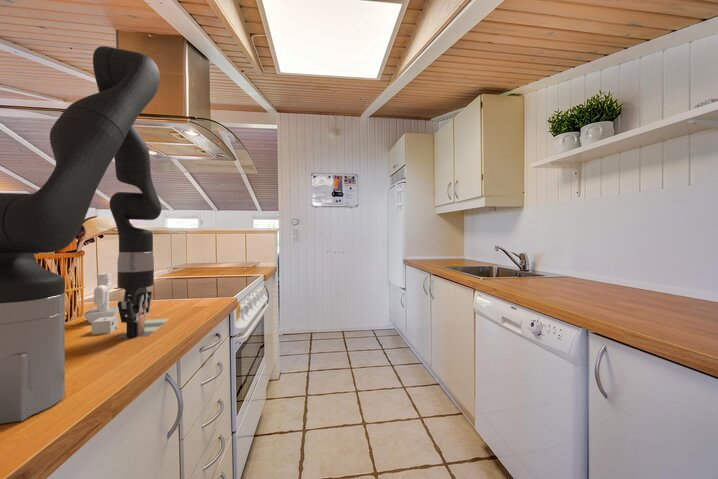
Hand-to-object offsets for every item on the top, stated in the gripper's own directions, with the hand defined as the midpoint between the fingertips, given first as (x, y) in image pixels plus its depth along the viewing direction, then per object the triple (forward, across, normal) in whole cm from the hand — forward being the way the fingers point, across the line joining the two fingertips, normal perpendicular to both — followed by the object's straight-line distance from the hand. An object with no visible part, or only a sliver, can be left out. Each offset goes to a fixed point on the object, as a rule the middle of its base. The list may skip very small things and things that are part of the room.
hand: (136, 333), depth 75 cm
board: (+1, +6, 0) cm, 6 cm away
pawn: (0, 0, 0) cm, 0 cm away
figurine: (+1, +17, +15) cm, 23 cm away
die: (+1, +5, +9) cm, 10 cm away
